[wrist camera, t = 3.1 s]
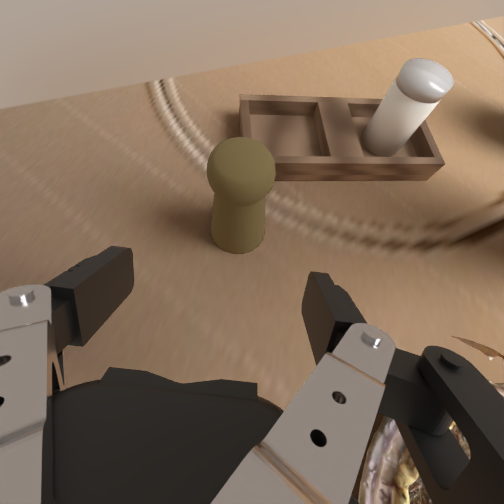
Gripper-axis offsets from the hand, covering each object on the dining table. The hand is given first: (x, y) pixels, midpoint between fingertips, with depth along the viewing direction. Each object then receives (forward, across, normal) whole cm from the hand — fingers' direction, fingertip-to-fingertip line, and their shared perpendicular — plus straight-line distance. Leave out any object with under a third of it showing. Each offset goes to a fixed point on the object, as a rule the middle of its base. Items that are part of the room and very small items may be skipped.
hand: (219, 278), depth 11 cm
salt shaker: (+26, -17, -9) cm, 33 cm away
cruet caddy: (+26, -11, -7) cm, 29 cm away
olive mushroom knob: (+16, 0, +3) cm, 17 cm away
